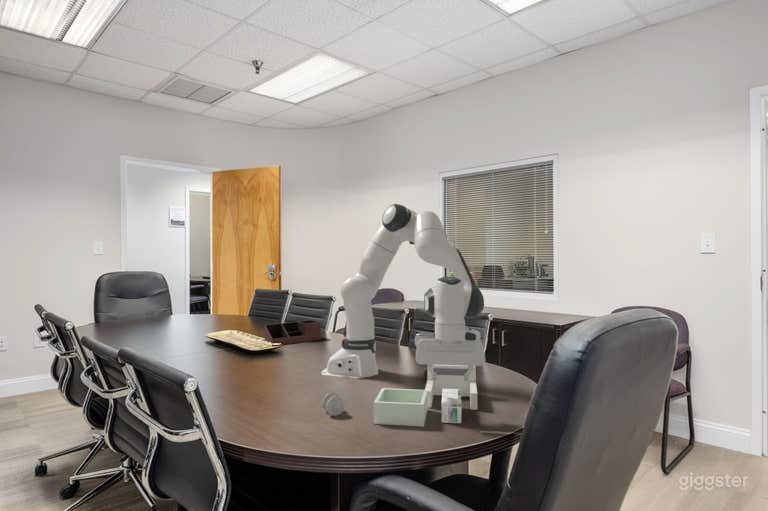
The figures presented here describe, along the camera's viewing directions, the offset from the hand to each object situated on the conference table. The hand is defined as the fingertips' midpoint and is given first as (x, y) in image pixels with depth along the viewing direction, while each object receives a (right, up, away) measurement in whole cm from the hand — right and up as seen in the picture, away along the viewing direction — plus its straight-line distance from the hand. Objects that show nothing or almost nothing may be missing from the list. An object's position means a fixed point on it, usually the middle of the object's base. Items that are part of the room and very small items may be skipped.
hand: (450, 379), depth 136 cm
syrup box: (+1, -8, +8) cm, 11 cm away
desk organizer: (-68, -11, +111) cm, 131 cm away
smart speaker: (0, -11, +37) cm, 39 cm away
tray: (-14, -11, -1) cm, 18 cm away
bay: (+2, -10, +13) cm, 17 cm away
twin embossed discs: (-34, -11, +2) cm, 36 cm away
